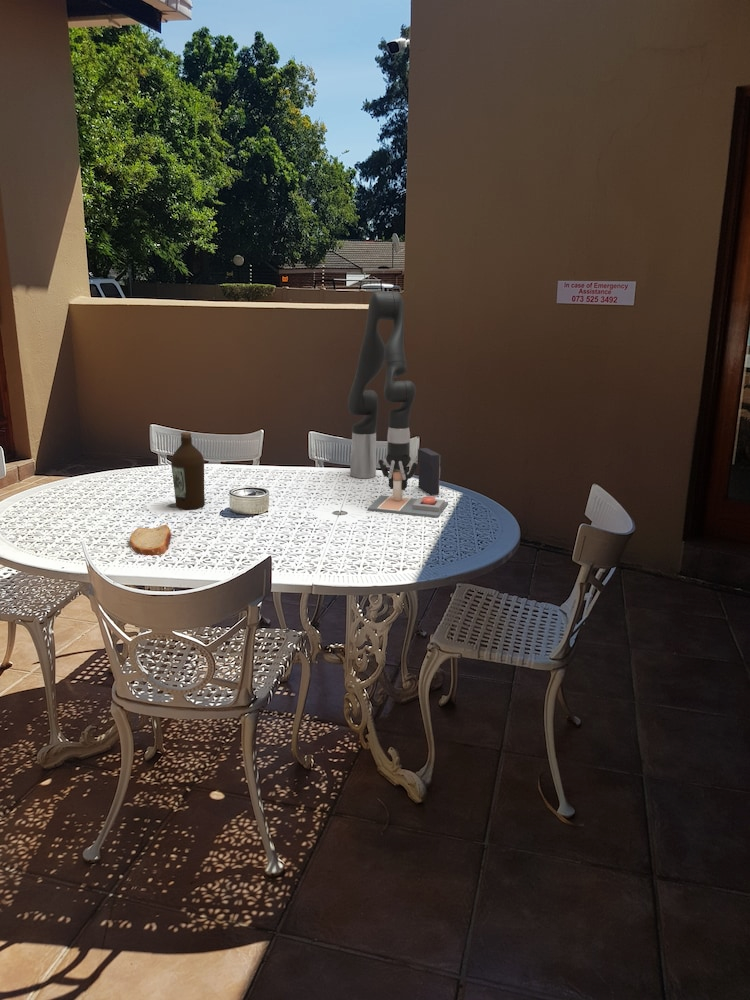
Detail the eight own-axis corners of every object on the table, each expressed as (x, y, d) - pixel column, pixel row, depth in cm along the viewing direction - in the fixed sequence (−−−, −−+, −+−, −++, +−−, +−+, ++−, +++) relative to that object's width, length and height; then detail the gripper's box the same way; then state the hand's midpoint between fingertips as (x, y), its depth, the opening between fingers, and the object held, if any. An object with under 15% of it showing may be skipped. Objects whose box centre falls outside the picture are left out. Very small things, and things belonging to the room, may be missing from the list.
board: (367, 510, 249) (367, 503, 249) (381, 497, 264) (381, 490, 263) (437, 517, 243) (438, 510, 242) (448, 504, 257) (448, 497, 257)
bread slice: (155, 559, 206) (154, 546, 205) (108, 547, 215) (107, 535, 213) (198, 539, 222) (198, 527, 220) (153, 529, 230) (152, 518, 229)
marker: (391, 500, 257) (391, 472, 254) (393, 497, 260) (394, 469, 257) (401, 501, 256) (401, 473, 253) (403, 498, 259) (404, 470, 256)
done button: (420, 505, 249) (420, 499, 249) (423, 501, 253) (424, 496, 253) (433, 506, 248) (433, 500, 248) (436, 502, 252) (436, 497, 252)
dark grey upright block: (440, 494, 268) (442, 454, 263) (429, 496, 266) (431, 455, 262) (427, 487, 278) (428, 447, 273) (416, 488, 276) (417, 448, 272)
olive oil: (194, 499, 259) (190, 428, 252) (212, 505, 252) (208, 433, 245) (168, 505, 252) (162, 433, 244) (185, 512, 245) (180, 437, 237)
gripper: (421, 439, 253) (420, 488, 258) (381, 436, 257) (381, 484, 262) (416, 444, 247) (414, 494, 252) (375, 440, 250) (374, 490, 255)
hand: (397, 488), depth 257 cm, fingers closed on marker, 3 cm apart
